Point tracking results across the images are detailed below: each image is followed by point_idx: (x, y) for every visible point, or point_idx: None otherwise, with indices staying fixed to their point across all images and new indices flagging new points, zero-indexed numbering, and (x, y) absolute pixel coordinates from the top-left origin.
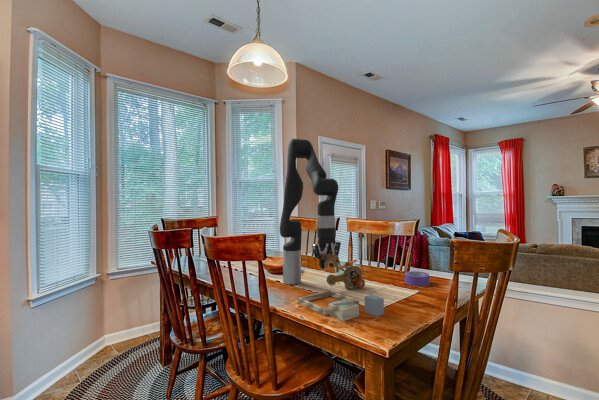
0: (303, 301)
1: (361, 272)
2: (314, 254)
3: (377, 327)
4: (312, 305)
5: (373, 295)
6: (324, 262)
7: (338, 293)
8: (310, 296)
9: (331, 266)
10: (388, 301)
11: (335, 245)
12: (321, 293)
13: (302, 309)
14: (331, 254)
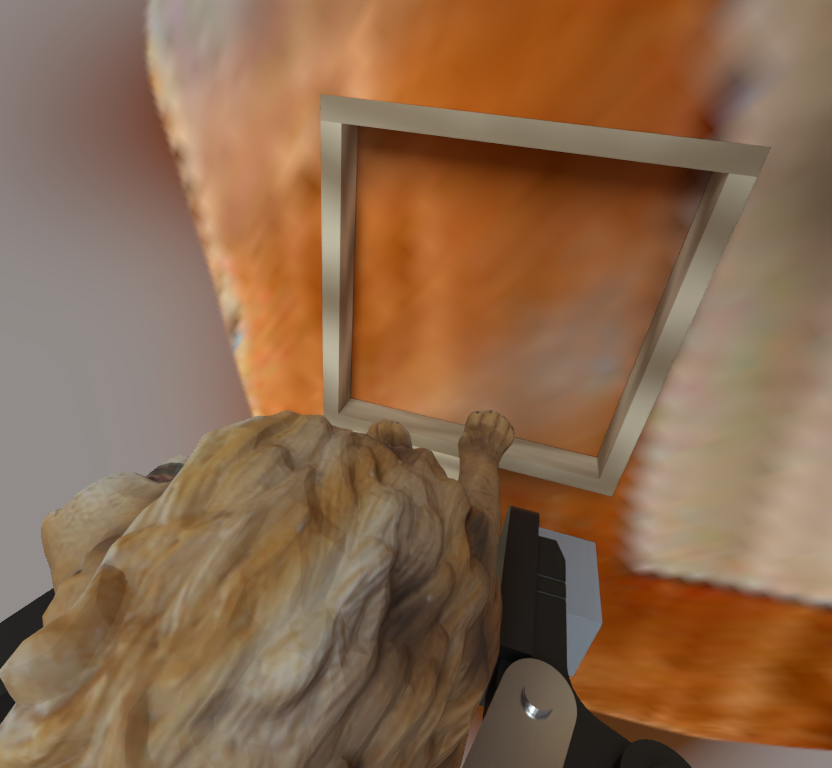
0: (324, 196)
1: None
2: (7, 628)
3: None
4: (324, 314)
5: (584, 634)
6: None
7: (694, 294)
8: (449, 136)
9: (499, 540)
10: (819, 575)
11: None
12: (592, 155)
13: (291, 248)
14: (530, 761)
